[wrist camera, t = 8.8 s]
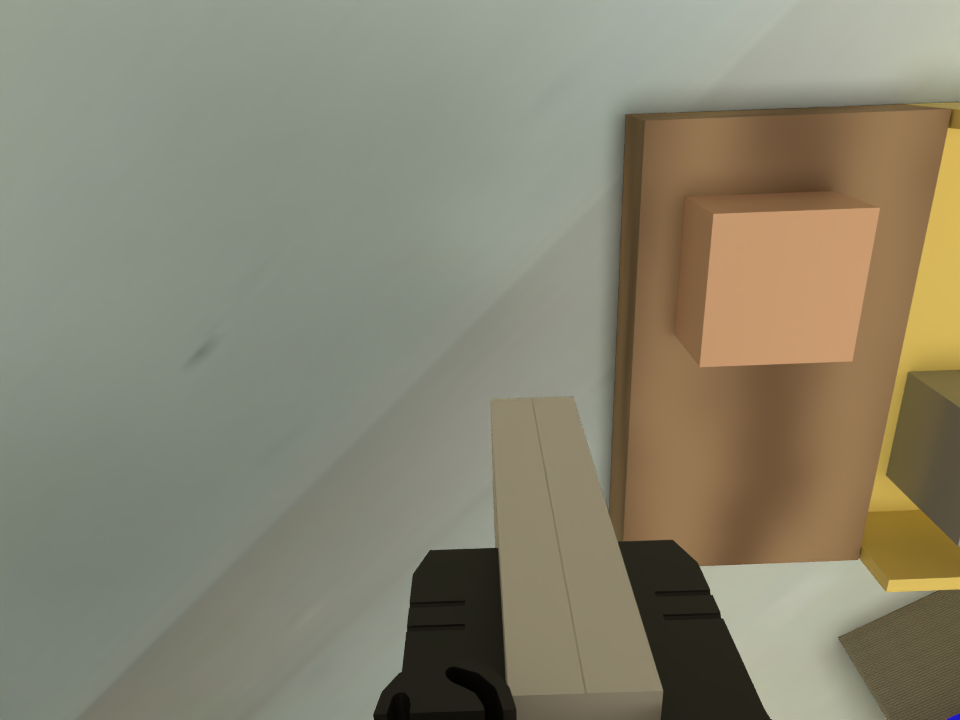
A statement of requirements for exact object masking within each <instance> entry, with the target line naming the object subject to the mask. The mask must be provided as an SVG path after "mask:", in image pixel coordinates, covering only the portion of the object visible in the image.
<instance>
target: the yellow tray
mask: <svg viewBox="0 0 960 720" xmlns="http://www.w3.org/2000/svg"><path fill="white" fill-rule="evenodd" d="M903 105H914V106H925V107H935V108H946V109H952V112H951V116H950V121H949V126H948V131H947V136H946V140H945V145H944V150H943V155H942V160H941V164H940V169H939V174H938V179H937V184H936V188H935V193H934V198H933V203H932V208H931V212H930V217H929V222H928V227H927V232H926V236H925V241H924V246H923V251H922V256H921V260H920V265H919V270H918V275H917V280H916V284H915V289H914V294H913V299H912V304H911V308H910V313H909V318H908V323H907V328H906V332H905V337H904V342H903V347H902V352H901V356H900V361H899V366H898V371H897V376H896V380H895V385H894V390H893V395H892V400H891V404H890V409H889V414H888V419H887V424H886V429H885V433H884V438H883V443H882V448H881V453H880V457H879V462H878V467H877V472H876V477H875V481H874V486H873V491H872V496H871V501H870V505H869V510H868V515H867V520H866V525H865V529H864V534H863V539H862V544H861V549H860V553H859V558H860V560H861V561H862V562H863V564H864V565H865V566H866V567H867V569H868V570H869V571H870V572H871V574H872V575H873V576H874V577H875V579H876V580H877V581H878V582H879V584H880V585H881V586H882V587H883V589H884V590H885V591H886V592H904V591H929V590H955V589H960V546H957V545H956V544H955V543H954V542H953V541H952V540H951V539H950V538H949V537H948V536H947V535H946V534H945V533H944V532H943V531H942V530H941V529H940V528H939V527H938V526H937V525H936V524H935V523H934V522H933V521H932V520H931V519H930V518H929V517H927V516H926V515H925V514H924V513H923V512H922V511H921V510H920V509H919V508H918V507H917V506H916V505H915V504H914V503H913V502H912V501H911V500H910V499H909V498H908V497H907V496H906V495H905V494H904V493H903V492H902V491H901V490H900V489H899V488H898V487H897V486H896V485H895V484H894V483H893V482H892V481H891V480H890V479H889V478H888V477H887V476H886V472H887V467H888V462H889V458H890V453H891V448H892V444H893V439H894V435H895V430H896V425H897V421H898V416H899V411H900V407H901V402H902V397H903V393H904V388H905V384H906V379H907V374H908V372H911V371H938V370H960V102H946V103H919V104H903Z"/></svg>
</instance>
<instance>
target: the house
mask: <svg viewBox="0 0 960 720" xmlns="http://www.w3.org/2000/svg"><path fill="white" fill-rule="evenodd" d="M838 638H839V640H840V642H841V643H842V645H843V646H844V648H845V650H846V651H847V653H848V655H849V656H850V658H851V660H852V661H853V663H854V665H855V666H856V668H857V670H858V671H859V673H860V675H861V676H862V678H863V680H864V681H865V683H866V685H867V686H868V688H869V690H870V691H871V693H872V695H873V696H874V698H875V700H876V701H877V703H878V705H879V706H880V708H881V710H882V711H883V713H884V714H885V716H886V718H887V719H888V720H960V589H955V590H939V591H937V592H934V593H932V594H930V595H928V596H926V597H924V598H922V599H919V600H917V601H915V602H913V603H911V604H909V605H907V606H904V607H902V608H900V609H898V610H896V611H894V612H892V613H889V614H887V615H885V616H883V617H881V618H879V619H877V620H874V621H872V622H870V623H868V624H866V625H864V626H862V627H860V628H857V629H855V630H853V631H851V632H849V633H847V634H845V635H842V636H840V637H838Z"/></svg>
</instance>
